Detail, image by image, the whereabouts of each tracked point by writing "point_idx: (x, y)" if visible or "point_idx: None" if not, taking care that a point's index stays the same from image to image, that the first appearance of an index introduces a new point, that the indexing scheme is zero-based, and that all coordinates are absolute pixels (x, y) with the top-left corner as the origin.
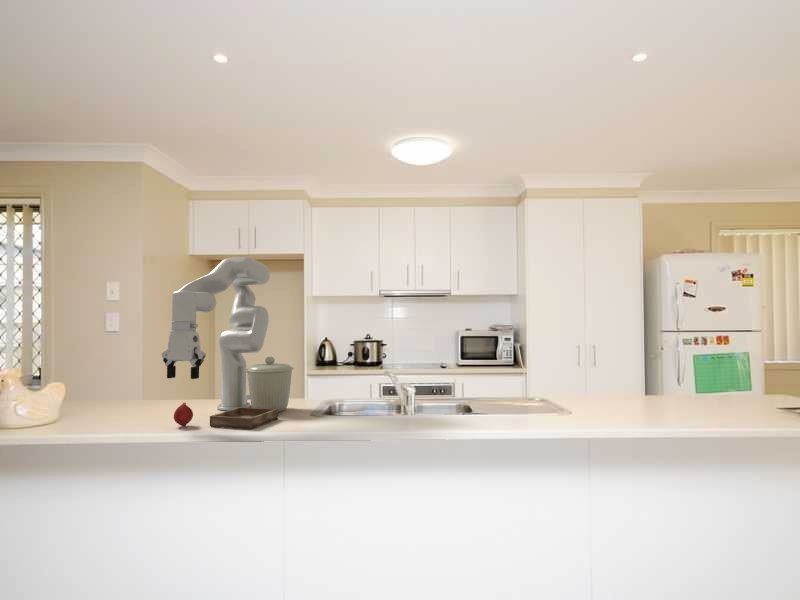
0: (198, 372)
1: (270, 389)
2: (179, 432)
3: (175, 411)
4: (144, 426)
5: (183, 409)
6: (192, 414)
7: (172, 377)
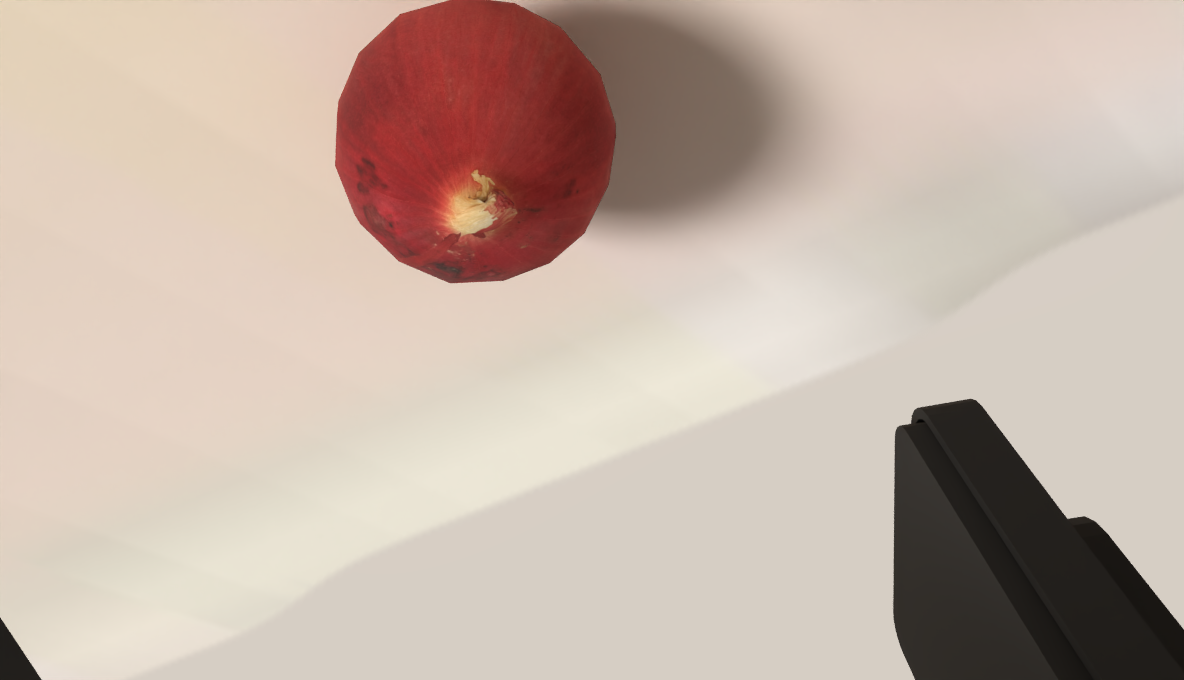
0: (1148, 616)
1: None
2: (697, 300)
3: (424, 271)
4: (14, 296)
5: (554, 241)
6: (594, 70)
7: (27, 668)
